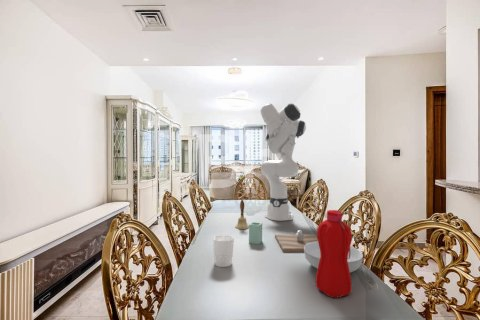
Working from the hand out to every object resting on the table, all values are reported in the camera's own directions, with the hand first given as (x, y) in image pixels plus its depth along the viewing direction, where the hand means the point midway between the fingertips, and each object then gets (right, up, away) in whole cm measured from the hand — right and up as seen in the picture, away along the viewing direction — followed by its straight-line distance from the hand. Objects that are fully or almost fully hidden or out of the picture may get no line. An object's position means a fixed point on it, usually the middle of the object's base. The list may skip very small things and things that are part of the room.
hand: (288, 150), depth 132 cm
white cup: (-31, -45, -31) cm, 63 cm away
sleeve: (-17, -45, -5) cm, 48 cm away
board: (+4, -45, -8) cm, 46 cm away
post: (+4, -43, -8) cm, 44 cm away
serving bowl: (+10, -46, -34) cm, 58 cm away
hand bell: (-23, -44, +21) cm, 54 cm away
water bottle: (+5, -46, -51) cm, 69 cm away
